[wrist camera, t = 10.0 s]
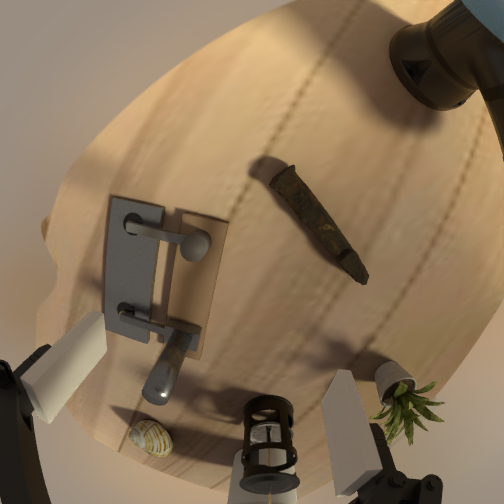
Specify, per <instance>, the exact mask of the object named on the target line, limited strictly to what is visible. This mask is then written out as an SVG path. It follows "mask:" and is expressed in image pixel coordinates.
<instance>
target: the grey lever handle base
mask: <svg viewBox="0 0 504 504" xmlns="http://www.w3.org/2000/svg"><path fill="white" fill-rule="evenodd" d="M228 225H229V222H226V221H222V220H218V219H213V218H209V217H205V216H200V215H196V214H192V213H187V212H185V213H183V216H182V221H181V226H180V232H179V233H175V232H171V231H167V230H163V229H159V228H154V227H150V226H146V225H142V224H138V223H134V222H132V221H128V222H127V223H126V231H127V232H131V233H135V234H138V235H142V236H146V237H150V238H154V239H158V240H162V241H166V242H170V243H174V244H177V249H176V255H175V262H174V268H173V275H172V282H171V289H170V296H169V304H168V312H167V321H166V324H167V322H168V320H169V319H173V320H176V321H180V322H183V323H187V324H191V325H194V326H198V327H202V331H201V337H200V342H199V346H198V348H197V351H196V352H195V351H191V350H188V351H187V353H186V356H185V357H188V358H192V359H196V360H200V358H201V354H202V349H203V344H204V338H205V333H206V328H207V323H208V318H209V313H210V308H211V303H212V298H213V293H214V289H215V284H216V279H217V274H218V270H219V265H220V261H221V256H222V251H223V247H224V242H225V238H226V234H227V229H228ZM165 345H166V343H164V347H165Z"/></svg>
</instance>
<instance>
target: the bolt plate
mask: <svg viewBox="0 0 504 504" xmlns="http://www.w3.org/2000/svg"><path fill="white" fill-rule="evenodd" d="M164 213H165V207H161V206H156V205H152V204H147V203H142V202H138V201H133V200H128V199H123V198H119V197H114V198H112V205H111V213H110V221H109V230H108V241H107V254H106V272H105V329H106V330H109V331H112V332H114V333H117V334H120V335H122V336H125V337H128V338H131V339H134V340H137V341H140V342H143V343H146V344H147V343H148V342H149V340H150V331H149V330H146V329H142V328H139V327H136V326H133V325H130V324H128V323H125V322H122V321H120V316H119V313H120V311H122V310H124V311H125V312H126V313H127V314H130V315H133V316H136V317H139V318H142V319H145V320H148V321H151V312H152V301H153V291H154V282H155V273H156V265H157V258H158V251H159V244H160V240H158V239H154V238H150V237H146V236H142V235H138V234H135V233H131V232H127V231H126V223H127V222H128V221H132V222H134V223H138V224H142V225H146V226H150V227H154V228H159V229H162V225H163V219H164Z"/></svg>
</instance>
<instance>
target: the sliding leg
mask: <svg viewBox="0 0 504 504" xmlns="http://www.w3.org/2000/svg"><path fill="white" fill-rule="evenodd" d="M119 316H120V321H122V322H125V323H128V324H130V325H133V326H136V327H139V328H142V329H146V330H149V331H152V332H155V333H158V334H162V335H164V342H163V343H166V345H165V347H164V349H163V351H162V353H161V355H160V357H159V358H158V360H157V362H156V364H155V366H154V368H153V370H152V372H151V374H150V376H149V378H148V379H147V381H146V383H145V385H144V387H143V389H142V395H143V397H144V398H145V399H146V400H147V401H148V402H150V403H152V404H154V405H159V406H162V405H165V404H166V403H167V402H168V399H169V397H170V394H171V391H172V389H173V386H174V384H175V381H176V379H177V376H178V373H179V371H180V368H181V366H182V363H183V361H184V358H185V356H186V353H187V351H188V350H191V351H195V352H196V351H197V348H198V346H199V342H200V337H201V331H202V327H198V326H194V325H191V324H187V323H183V322H180V321H176V320H173V319H169V320H168V322H167V324H166V325H162V324H158V323H155V322H152V321H148V320H145V319H142V318H139V317H136V316H133V315H130V314H127V313H126V312H125V311H124V310H122V311H120V313H119Z"/></svg>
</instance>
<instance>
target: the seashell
mask: <svg viewBox="0 0 504 504" xmlns="http://www.w3.org/2000/svg"><path fill="white" fill-rule="evenodd" d="M129 439H130V440H131V441H132V442H133V443H134V444H135V445H137V446H138V447H140V448H142V449H143V450H144V451H146V452H147V453H148V454H150V455H152V456H155V457H164V456H167V455H168V454H170V453H171V451H172V448H173V442H172V440H171V438H170V436H169V434H168V432H167V431H166V430H165V428H164V427H163V426H161V425H160V424H159V423H157V422H155V421H151V420H142V421H140V422H138V423H137V424H136V425H135V426H134V428H133V429H132V430H131V431H130V432H129Z"/></svg>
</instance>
